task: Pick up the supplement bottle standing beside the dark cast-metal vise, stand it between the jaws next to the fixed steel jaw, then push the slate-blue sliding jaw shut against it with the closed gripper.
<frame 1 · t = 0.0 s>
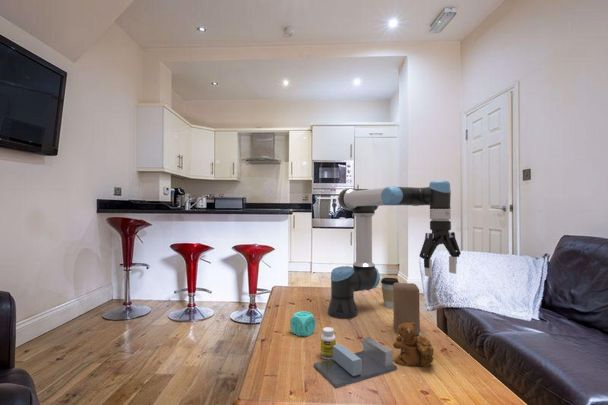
hand: (440, 274, 117), 28 cm above the table, fingers open, 13 cm apart
sliding jaw: (347, 358, 100), point 4 cm above the table, slide at 0.0 cm
vise base: (355, 367, 101), on the table
supplement bottle: (328, 356, 109), on the table
stuffed squirrel: (414, 362, 105), on the table
block: (406, 331, 133), on the table
coffee cup: (390, 306, 166), on the table
decorative dice: (302, 333, 131), on the table
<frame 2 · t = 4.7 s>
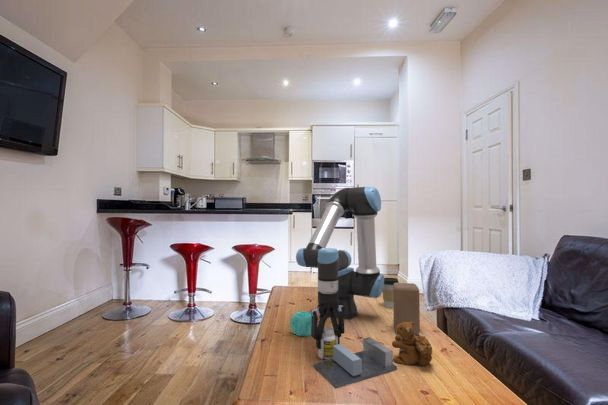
hand: (328, 355, 109), 0 cm above the table, fingers closed on supplement bottle, 5 cm apart
supplement bottle: (328, 356, 109), on the table, touching gripper
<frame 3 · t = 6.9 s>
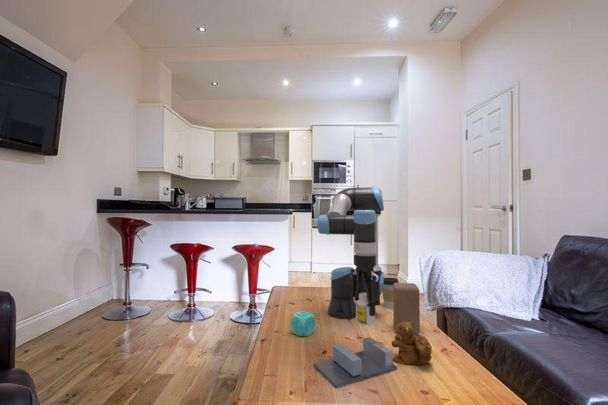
hand: (365, 321, 104), 15 cm above the table, fingers closed on supplement bottle, 5 cm apart
supplement bottle: (365, 323, 104), point 14 cm above the table, touching gripper
when the fingers open (3 cm above the table, at t = 9.3 s): supplement bottle drops 1 cm, resting on vise base.
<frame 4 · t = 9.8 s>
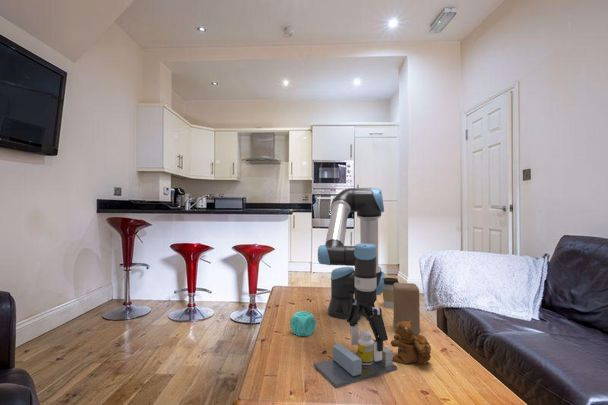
hand: (365, 351, 103), 4 cm above the table, fingers open, 12 cm apart
supplement bottle: (365, 362, 103), point 1 cm above the table, touching vise base
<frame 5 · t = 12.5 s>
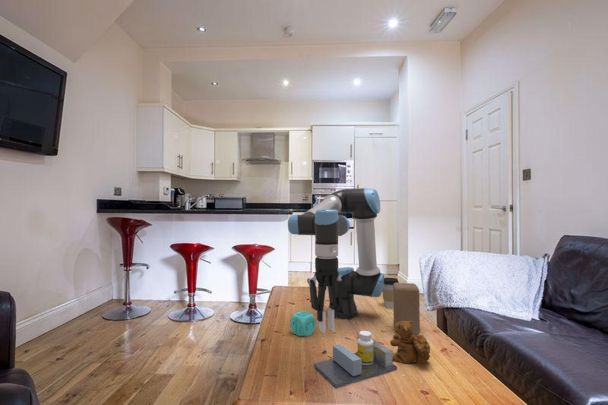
hand: (326, 330, 97), 15 cm above the table, fingers open, 3 cm apart
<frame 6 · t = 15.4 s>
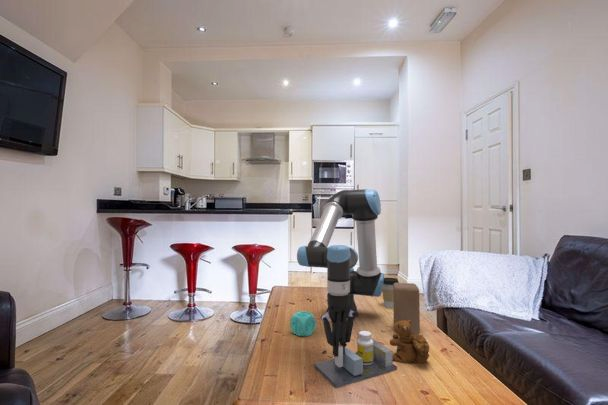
hand: (338, 365, 99), 2 cm above the table, fingers closed
sliding jaw: (348, 358, 100), point 4 cm above the table, slide at 0.5 cm, touching gripper
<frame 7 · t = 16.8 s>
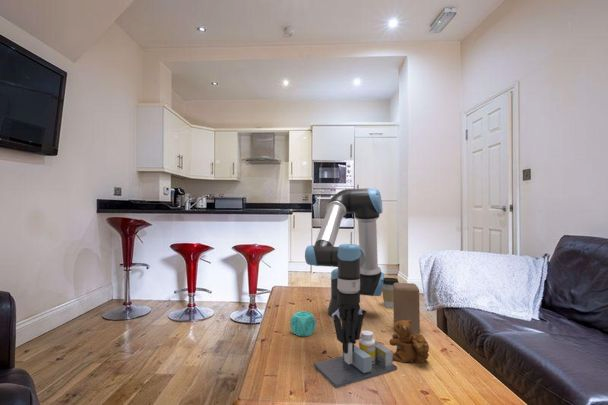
hand: (348, 362, 100), 3 cm above the table, fingers closed
sliding jaw: (356, 356, 102), point 4 cm above the table, slide at 4.0 cm, touching supplement bottle, gripper
supplement bottle: (367, 361, 104), point 1 cm above the table, touching sliding jaw, vise base
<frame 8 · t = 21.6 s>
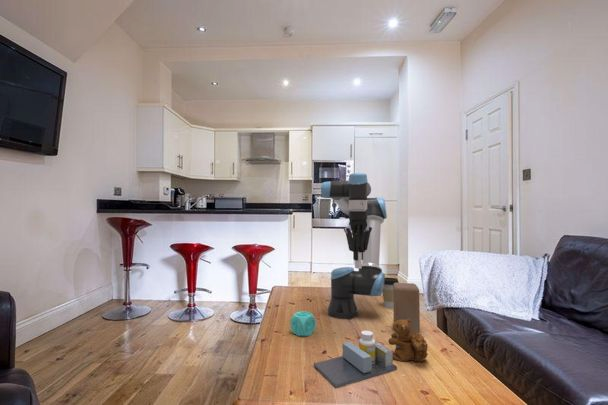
hand: (358, 268, 124), 29 cm above the table, fingers closed
sliding jaw: (356, 356, 102), point 4 cm above the table, slide at 4.0 cm
supplement bottle: (367, 361, 104), point 1 cm above the table, touching vise base
at the end: supplement bottle inside the target area (1.1 cm from its centre), point 0.8 cm above the table; supplement bottle tilted 0°; sliding jaw slide at 4.0 cm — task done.
